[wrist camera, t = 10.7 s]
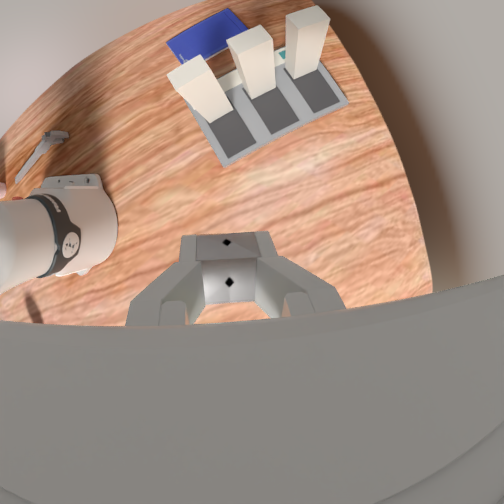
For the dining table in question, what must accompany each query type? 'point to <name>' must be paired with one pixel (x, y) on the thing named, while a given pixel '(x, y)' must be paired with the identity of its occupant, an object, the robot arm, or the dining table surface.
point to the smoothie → (2, 190)
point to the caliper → (42, 150)
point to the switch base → (268, 110)
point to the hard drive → (206, 37)
